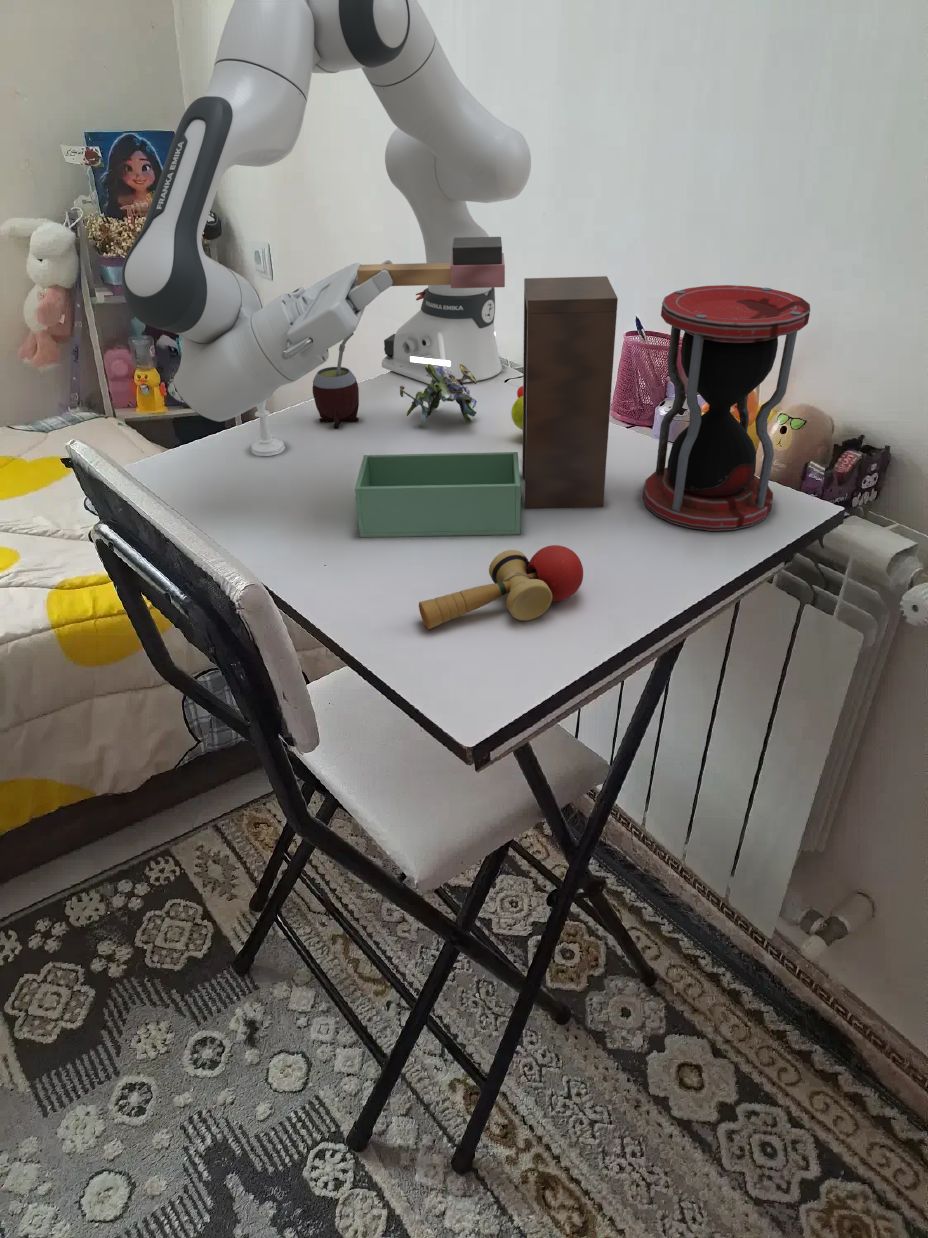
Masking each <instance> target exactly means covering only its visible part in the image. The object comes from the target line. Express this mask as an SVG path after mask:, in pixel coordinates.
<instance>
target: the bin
mask: <svg viewBox="0 0 928 1238" xmlns="http://www.w3.org/2000/svg"><path fill="white" fill-rule="evenodd" d="M519 461H520V460H519V452H518V451H505V452H503V451H502V452H501V451H500V452H498V451H497V452H496V451H495V452H455V453H454V452H452V453H451V452H449V453H404V454H401V453H399V454H364V455H363V456H362V460H361V464H360V468H359V472H358V475H357V478H356V483H355V486H354V497H355V505H356V513H357V523H358V531H359V532H358V533H359V538H390V537H391V538H392V537H393V538H395V537H398V538H399V537H444V536H445V537H450V536H451V537H452V536H454V537H455V536H504V535H506V536H507V535H521V493H522V492H521V489H522V487H521V486H522V485H521V476H520V463H519Z"/></svg>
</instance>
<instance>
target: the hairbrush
mask: <svg viewBox="0 0 928 1238" xmlns="http://www.w3.org/2000/svg"><path fill="white" fill-rule="evenodd" d="M502 243H503V242H502V236H489V237H463V238H454V240H453V247H452V252H453V254H452V256H451V263H426V262H424V263H421V262H420V263H416V262H415V263H393V264H382V263H377V264H376V263H375V264H371V263H370V264H361V265H360V266H359V268H358V270H357V275H358V285H361V284H362V283H364V282H365V281H367V280H369V279H370V278H372V277H373V275H375V274H376V273H378V272H379V271H381V270H382V269H387V270H388V271H389V272H390V274H391V275H392V277H393V283H392V285H391V286H390V287H414V286H428V285H451V288H493V287H494V288H505V287H506V274H505V273H506V264H505V253H504V252H503V244H502Z"/></svg>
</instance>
